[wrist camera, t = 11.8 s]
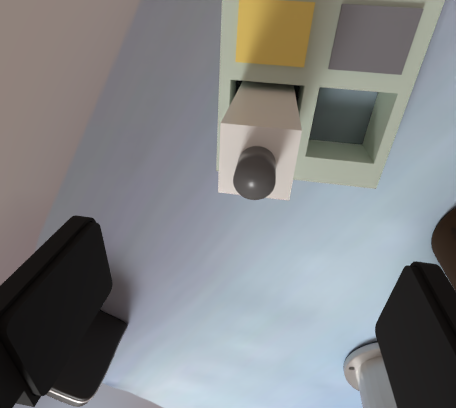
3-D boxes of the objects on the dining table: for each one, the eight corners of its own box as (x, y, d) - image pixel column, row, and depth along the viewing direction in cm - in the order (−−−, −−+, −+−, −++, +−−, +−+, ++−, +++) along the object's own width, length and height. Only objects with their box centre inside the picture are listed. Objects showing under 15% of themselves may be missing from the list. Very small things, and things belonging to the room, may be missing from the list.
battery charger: (81, 316, 47) (30, 393, 37) (87, 303, 45) (36, 382, 35) (122, 334, 48) (83, 415, 39) (130, 323, 46) (91, 405, 37)
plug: (292, 82, 25) (304, 145, 13) (285, 129, 27) (290, 221, 15) (244, 78, 25) (213, 136, 13) (240, 125, 27) (211, 211, 16)
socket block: (421, -6, 21) (450, -10, 17) (364, 167, 28) (377, 190, 24) (231, -16, 22) (222, -22, 18) (223, 152, 29) (215, 172, 25)
